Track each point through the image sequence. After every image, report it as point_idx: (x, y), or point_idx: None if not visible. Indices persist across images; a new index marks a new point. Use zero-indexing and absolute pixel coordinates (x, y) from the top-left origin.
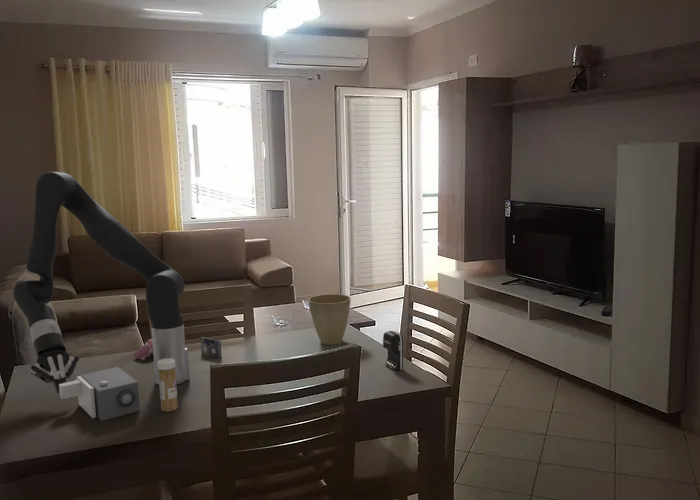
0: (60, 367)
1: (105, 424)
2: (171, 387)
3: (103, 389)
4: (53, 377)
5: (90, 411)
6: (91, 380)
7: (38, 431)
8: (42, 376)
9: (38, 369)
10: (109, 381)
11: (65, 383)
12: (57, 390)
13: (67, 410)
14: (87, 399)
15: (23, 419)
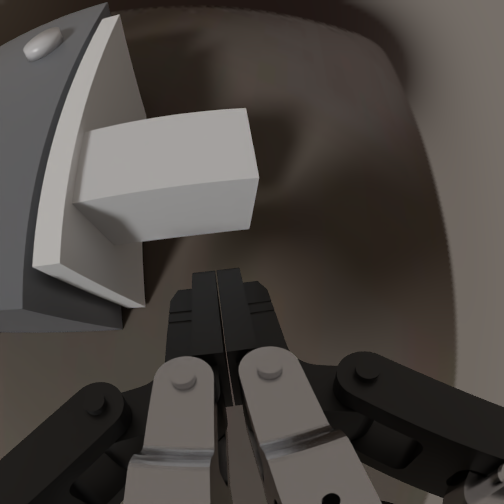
0: (186, 485)
1: (134, 72)
2: None
3: (84, 12)
4: (303, 379)
5: (140, 116)
6: (34, 116)
7: (337, 120)
8: (406, 453)
9: (501, 442)
10: (6, 78)
11: (197, 160)
12: (261, 286)
13: (212, 267)
14: (126, 105)
15: (402, 269)
